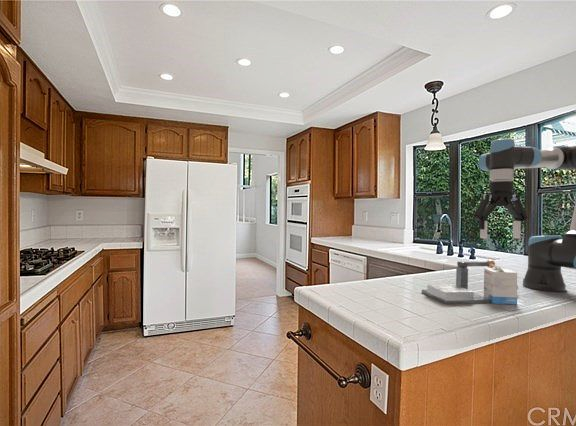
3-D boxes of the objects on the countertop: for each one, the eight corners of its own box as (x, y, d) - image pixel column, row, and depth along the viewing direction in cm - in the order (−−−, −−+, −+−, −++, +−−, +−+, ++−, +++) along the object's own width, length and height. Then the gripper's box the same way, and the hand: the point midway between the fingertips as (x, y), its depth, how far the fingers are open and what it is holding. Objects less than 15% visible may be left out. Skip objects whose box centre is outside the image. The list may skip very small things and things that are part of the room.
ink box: (517, 305, 119) (518, 268, 119) (492, 303, 121) (493, 266, 121) (506, 298, 128) (507, 264, 128) (482, 297, 129) (483, 263, 129)
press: (462, 291, 138) (463, 266, 137) (491, 302, 122) (491, 274, 122) (421, 292, 135) (422, 266, 135) (445, 304, 119) (446, 274, 119)
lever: (490, 266, 138) (490, 259, 138) (497, 268, 134) (497, 260, 134) (455, 267, 136) (455, 259, 136) (461, 269, 132) (461, 261, 132)
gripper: (523, 182, 129) (521, 237, 129) (463, 181, 126) (462, 237, 126) (540, 181, 122) (538, 239, 122) (477, 179, 118) (476, 239, 119)
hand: (500, 238), depth 124 cm, fingers open, 13 cm apart
